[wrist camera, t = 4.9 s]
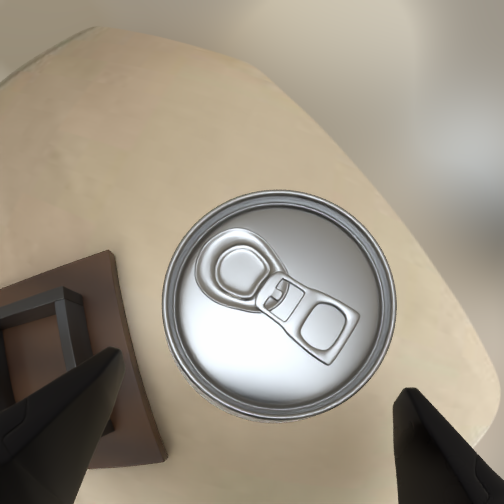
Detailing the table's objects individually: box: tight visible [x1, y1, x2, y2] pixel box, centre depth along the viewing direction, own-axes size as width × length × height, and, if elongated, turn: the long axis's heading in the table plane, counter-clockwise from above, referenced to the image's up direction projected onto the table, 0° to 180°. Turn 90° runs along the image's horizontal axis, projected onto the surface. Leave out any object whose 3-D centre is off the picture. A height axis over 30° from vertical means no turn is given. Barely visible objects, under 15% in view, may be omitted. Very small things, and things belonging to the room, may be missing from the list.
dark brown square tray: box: [0, 250, 168, 469], centre depth 15 cm, size 14×14×4 cm
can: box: [162, 190, 397, 423], centre depth 13 cm, size 6×6×12 cm
